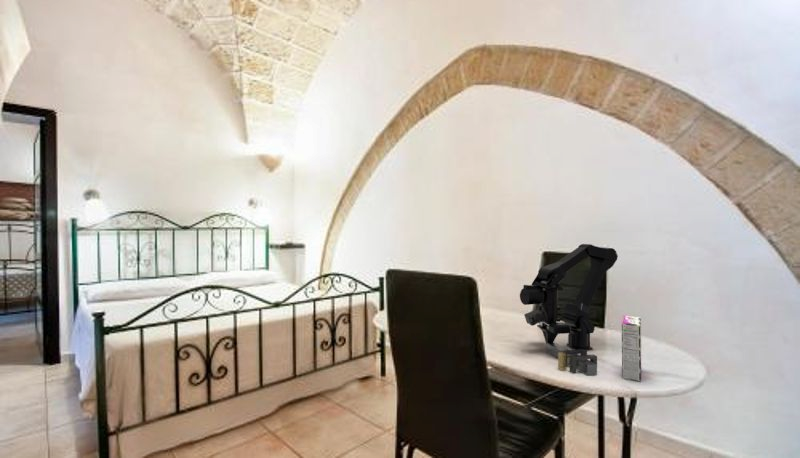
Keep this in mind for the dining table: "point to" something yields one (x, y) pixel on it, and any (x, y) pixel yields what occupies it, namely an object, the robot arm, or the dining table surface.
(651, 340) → the dining table surface
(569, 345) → the robot arm
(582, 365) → the long grey bar
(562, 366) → the sight post
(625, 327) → the candy bar box
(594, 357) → the dark grey arch
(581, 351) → the grey arch block
